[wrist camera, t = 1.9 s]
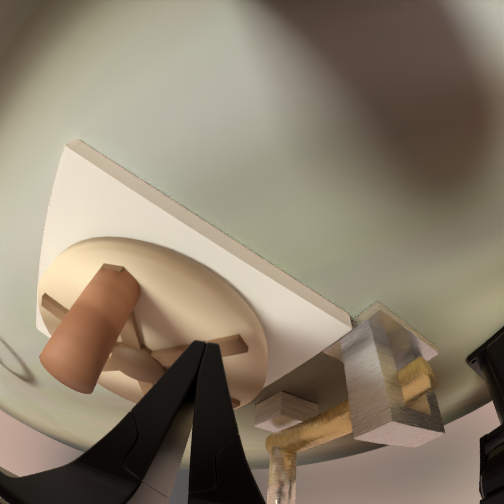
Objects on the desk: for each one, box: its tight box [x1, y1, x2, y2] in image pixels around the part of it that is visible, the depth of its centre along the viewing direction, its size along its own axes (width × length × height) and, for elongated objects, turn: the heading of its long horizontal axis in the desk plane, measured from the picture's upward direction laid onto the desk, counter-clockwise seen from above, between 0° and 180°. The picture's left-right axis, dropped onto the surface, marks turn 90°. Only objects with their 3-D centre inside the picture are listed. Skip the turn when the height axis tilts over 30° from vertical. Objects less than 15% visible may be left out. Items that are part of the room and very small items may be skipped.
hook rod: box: [266, 356, 437, 504], centre depth 12 cm, size 2×12×8 cm, turn 144°
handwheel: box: [38, 236, 268, 410], centre depth 12 cm, size 13×13×6 cm
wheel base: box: [36, 140, 352, 388], centre depth 15 cm, size 15×15×1 cm
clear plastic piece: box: [254, 301, 445, 448], centre depth 14 cm, size 7×12×6 cm, turn 144°
